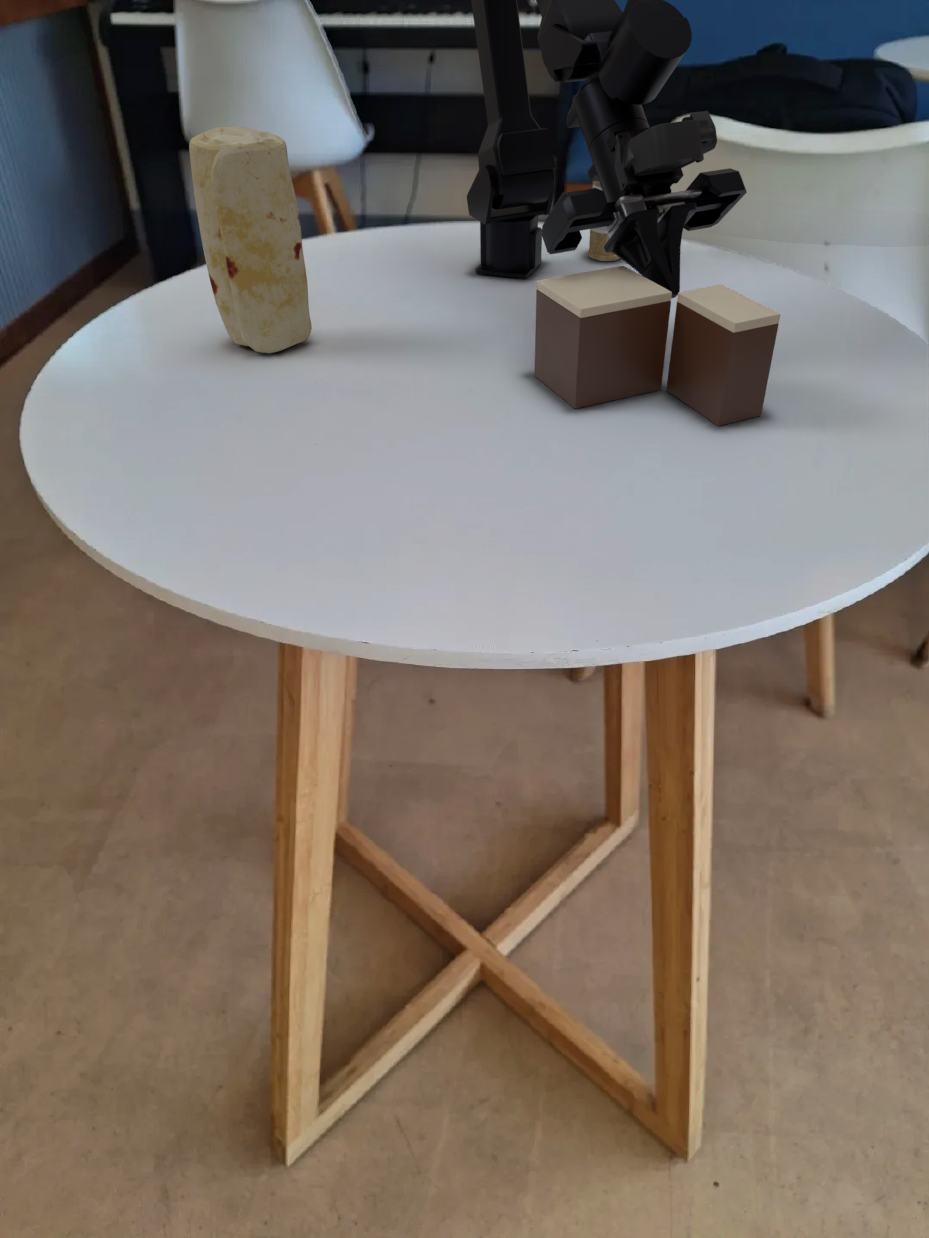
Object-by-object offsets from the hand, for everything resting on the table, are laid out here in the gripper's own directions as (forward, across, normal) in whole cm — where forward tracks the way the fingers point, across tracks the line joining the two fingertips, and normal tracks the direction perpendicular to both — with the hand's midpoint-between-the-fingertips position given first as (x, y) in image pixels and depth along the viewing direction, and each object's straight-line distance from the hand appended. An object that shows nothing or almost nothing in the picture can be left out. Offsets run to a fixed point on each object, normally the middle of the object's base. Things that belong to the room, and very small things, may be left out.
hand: (673, 296), depth 84 cm
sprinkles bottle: (-18, +13, +28) cm, 36 cm away
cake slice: (+10, 0, 0) cm, 11 cm away
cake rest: (+5, -7, +6) cm, 10 cm away
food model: (-12, -32, +22) cm, 41 cm away
